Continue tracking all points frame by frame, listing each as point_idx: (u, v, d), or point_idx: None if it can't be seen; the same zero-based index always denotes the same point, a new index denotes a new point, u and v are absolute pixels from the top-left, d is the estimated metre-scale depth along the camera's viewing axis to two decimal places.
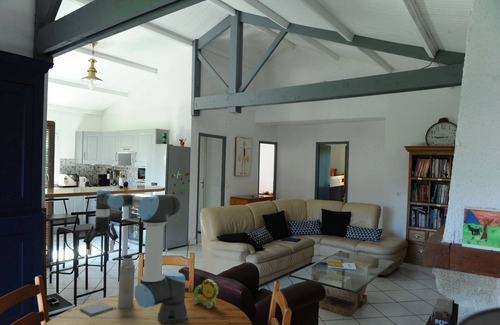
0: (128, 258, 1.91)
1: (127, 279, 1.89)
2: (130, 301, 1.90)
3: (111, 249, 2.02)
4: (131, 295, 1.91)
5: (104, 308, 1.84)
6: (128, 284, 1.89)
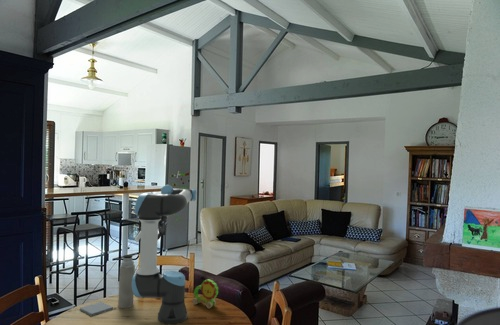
0: (128, 258, 1.91)
1: (127, 279, 1.89)
2: (130, 301, 1.90)
3: None
4: (131, 295, 1.91)
5: (104, 308, 1.84)
6: (128, 284, 1.89)
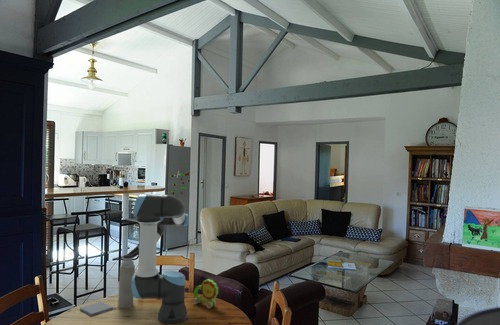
0: (128, 258, 1.91)
1: (127, 279, 1.89)
2: (130, 301, 1.90)
3: None
4: (131, 295, 1.91)
5: (104, 308, 1.84)
6: (128, 284, 1.89)
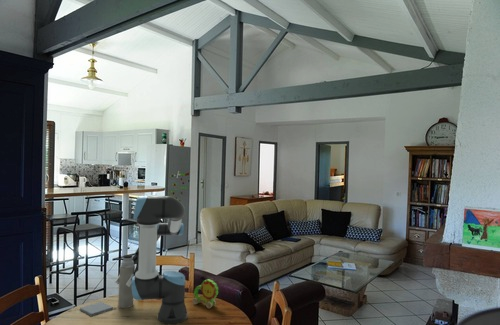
0: (128, 258, 1.91)
1: (127, 279, 1.89)
2: (130, 301, 1.90)
3: None
4: (131, 295, 1.91)
5: (104, 308, 1.84)
6: None
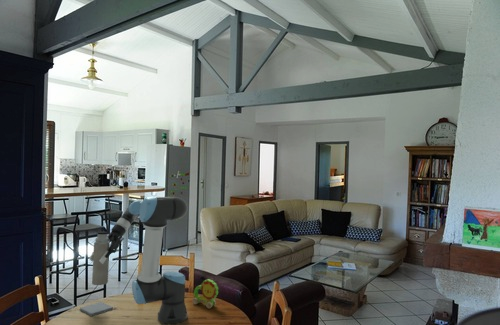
0: (102, 234, 1.85)
1: (100, 256, 1.83)
2: (104, 278, 1.84)
3: None
4: (105, 272, 1.85)
5: (104, 308, 1.84)
6: None
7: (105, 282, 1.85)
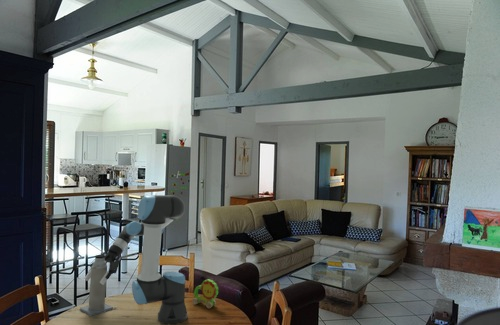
0: (100, 258, 1.84)
1: (98, 281, 1.82)
2: (101, 303, 1.83)
3: None
4: (102, 297, 1.83)
5: (104, 308, 1.84)
6: (99, 286, 1.82)
7: (102, 307, 1.83)
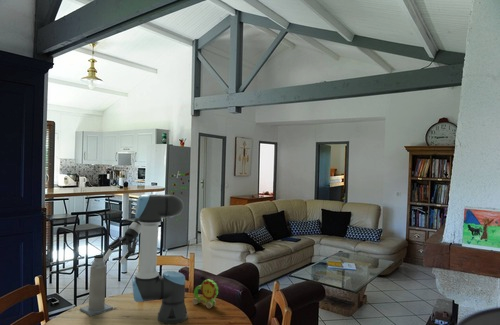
0: (99, 258, 1.84)
1: (97, 280, 1.82)
2: (101, 303, 1.83)
3: None
4: (102, 297, 1.83)
5: (104, 308, 1.84)
6: (98, 285, 1.82)
7: (102, 306, 1.83)
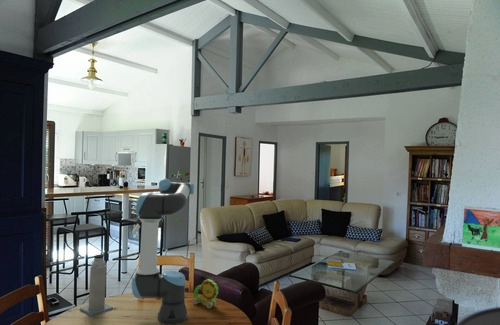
0: (99, 258, 1.84)
1: (97, 281, 1.82)
2: (101, 303, 1.83)
3: None
4: (102, 297, 1.83)
5: (104, 308, 1.84)
6: (98, 285, 1.82)
7: (102, 306, 1.83)
